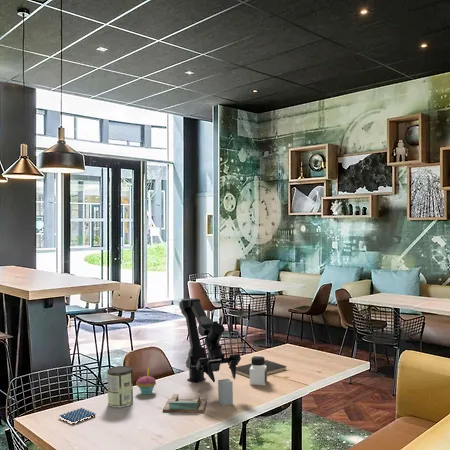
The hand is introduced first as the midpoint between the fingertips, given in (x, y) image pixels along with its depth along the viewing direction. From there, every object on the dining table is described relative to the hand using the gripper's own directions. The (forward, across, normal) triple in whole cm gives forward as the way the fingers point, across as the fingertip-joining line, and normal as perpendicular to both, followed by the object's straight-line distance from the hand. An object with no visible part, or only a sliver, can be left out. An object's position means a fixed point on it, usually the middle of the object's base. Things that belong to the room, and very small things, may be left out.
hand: (224, 380), depth 198 cm
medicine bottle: (-5, -24, -18) cm, 30 cm away
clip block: (+7, 0, -6) cm, 9 cm away
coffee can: (-7, +39, -20) cm, 44 cm away
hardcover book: (-17, -34, -30) cm, 48 cm away
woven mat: (-1, +57, -15) cm, 59 cm away
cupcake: (-12, +26, -26) cm, 38 cm away
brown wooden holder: (+4, +16, -9) cm, 19 cm away
